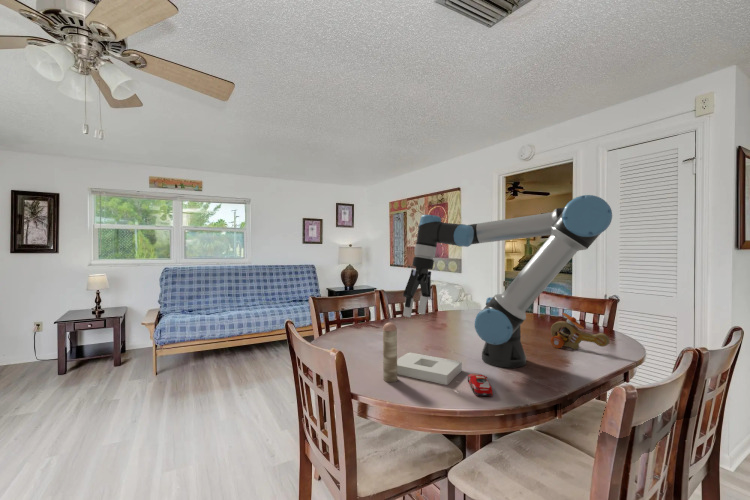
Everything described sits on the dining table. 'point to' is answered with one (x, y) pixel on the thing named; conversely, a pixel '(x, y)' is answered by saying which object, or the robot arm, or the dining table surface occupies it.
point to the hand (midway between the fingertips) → (414, 314)
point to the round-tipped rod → (390, 352)
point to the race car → (480, 385)
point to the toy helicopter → (574, 334)
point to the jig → (428, 368)
